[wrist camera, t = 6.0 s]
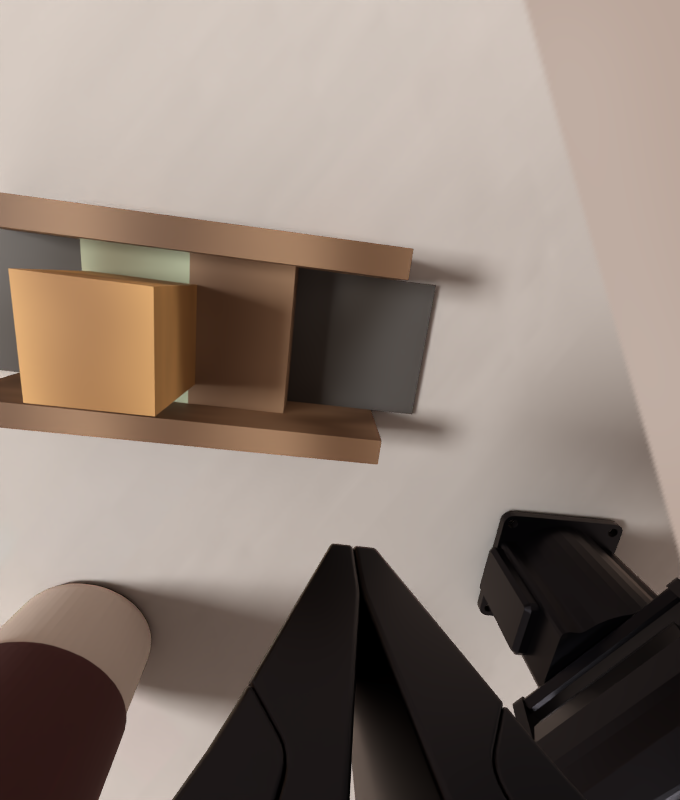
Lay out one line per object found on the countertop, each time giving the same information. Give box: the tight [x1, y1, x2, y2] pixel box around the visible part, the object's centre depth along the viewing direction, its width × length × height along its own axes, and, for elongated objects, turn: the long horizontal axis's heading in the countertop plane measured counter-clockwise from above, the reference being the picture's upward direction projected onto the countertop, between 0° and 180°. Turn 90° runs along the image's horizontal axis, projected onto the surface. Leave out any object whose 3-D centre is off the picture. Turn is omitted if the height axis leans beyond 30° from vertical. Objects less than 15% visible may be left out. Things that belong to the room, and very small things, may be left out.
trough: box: [0, 193, 436, 464], centre depth 16 cm, size 20×8×4 cm, turn 83°
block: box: [8, 268, 197, 416], centre depth 14 cm, size 4×4×4 cm
